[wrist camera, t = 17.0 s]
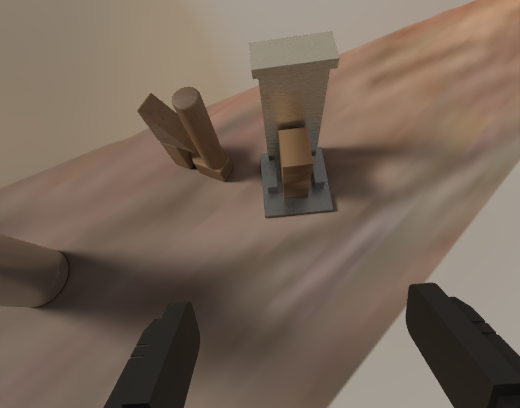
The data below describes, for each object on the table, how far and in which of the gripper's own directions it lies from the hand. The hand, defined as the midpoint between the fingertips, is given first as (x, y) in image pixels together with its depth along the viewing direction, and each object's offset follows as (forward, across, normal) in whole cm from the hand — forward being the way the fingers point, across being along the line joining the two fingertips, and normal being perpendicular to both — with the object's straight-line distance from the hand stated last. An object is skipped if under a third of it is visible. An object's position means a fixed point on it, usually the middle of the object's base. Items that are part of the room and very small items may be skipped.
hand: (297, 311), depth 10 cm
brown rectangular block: (+36, -3, +6) cm, 37 cm away
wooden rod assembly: (+41, +13, +3) cm, 43 cm away
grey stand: (+37, -3, +6) cm, 38 cm away
